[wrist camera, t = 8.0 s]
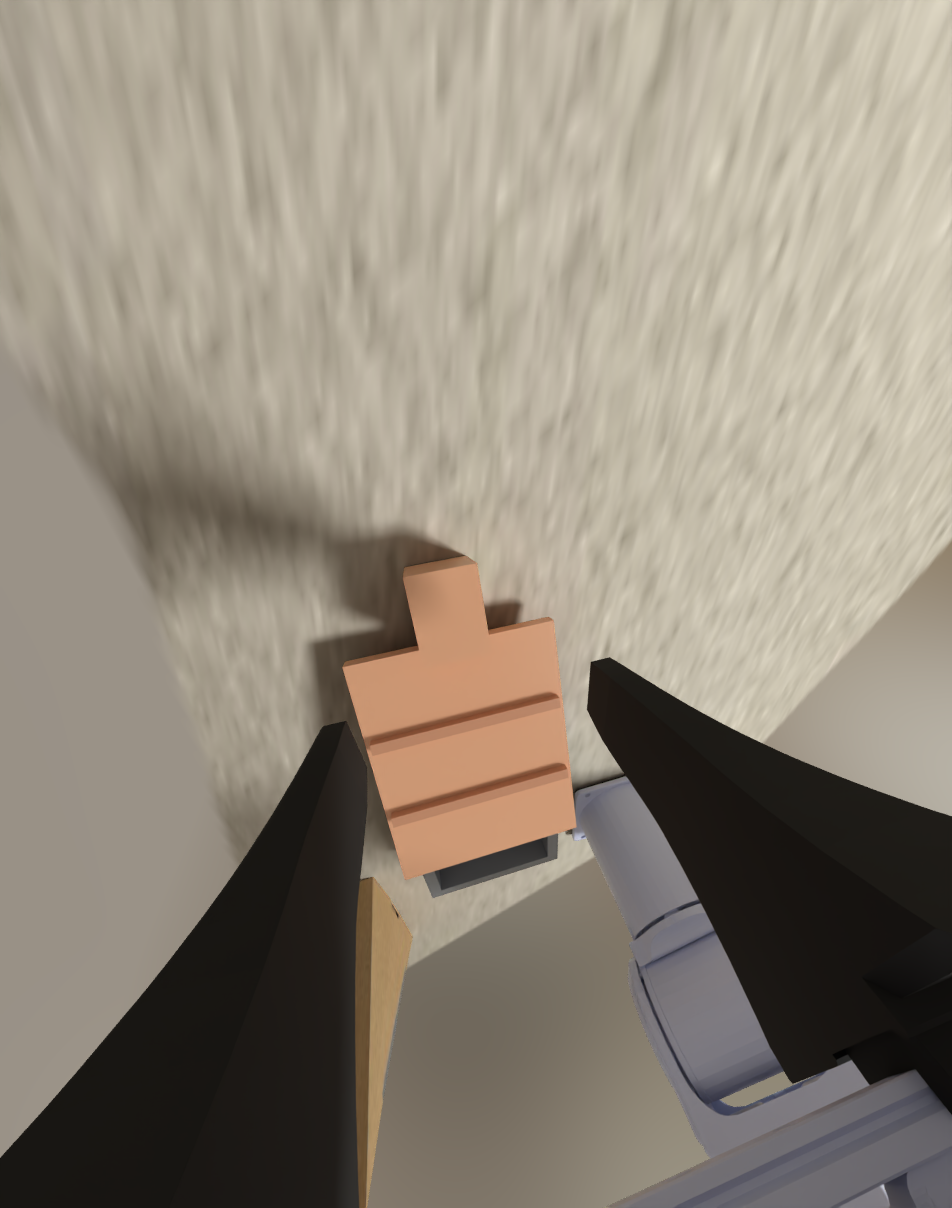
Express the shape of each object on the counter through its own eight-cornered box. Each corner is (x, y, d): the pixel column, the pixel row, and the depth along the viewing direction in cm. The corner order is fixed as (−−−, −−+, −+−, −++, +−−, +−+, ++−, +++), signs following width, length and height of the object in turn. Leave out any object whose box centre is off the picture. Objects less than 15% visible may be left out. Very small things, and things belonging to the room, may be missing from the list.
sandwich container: (334, 962, 36) (306, 1260, 24) (272, 906, 29) (177, 1307, 16) (415, 935, 37) (428, 1207, 25) (376, 873, 30) (366, 1225, 17)
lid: (539, 541, 17) (565, 546, 14) (571, 817, 22) (595, 863, 19) (322, 582, 16) (302, 597, 13) (405, 868, 20) (404, 925, 18)
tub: (538, 712, 24) (559, 756, 21) (540, 814, 30) (557, 858, 27) (392, 750, 22) (392, 803, 19) (428, 847, 29) (432, 898, 26)
